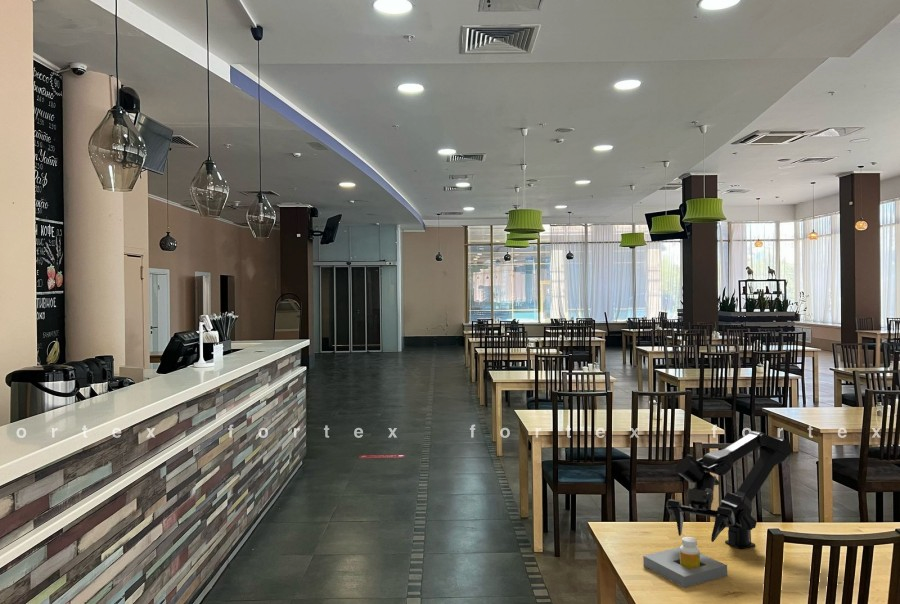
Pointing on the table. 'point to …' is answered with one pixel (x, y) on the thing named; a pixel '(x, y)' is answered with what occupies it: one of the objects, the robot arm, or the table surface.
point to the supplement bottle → (689, 553)
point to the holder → (684, 568)
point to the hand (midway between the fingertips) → (695, 538)
